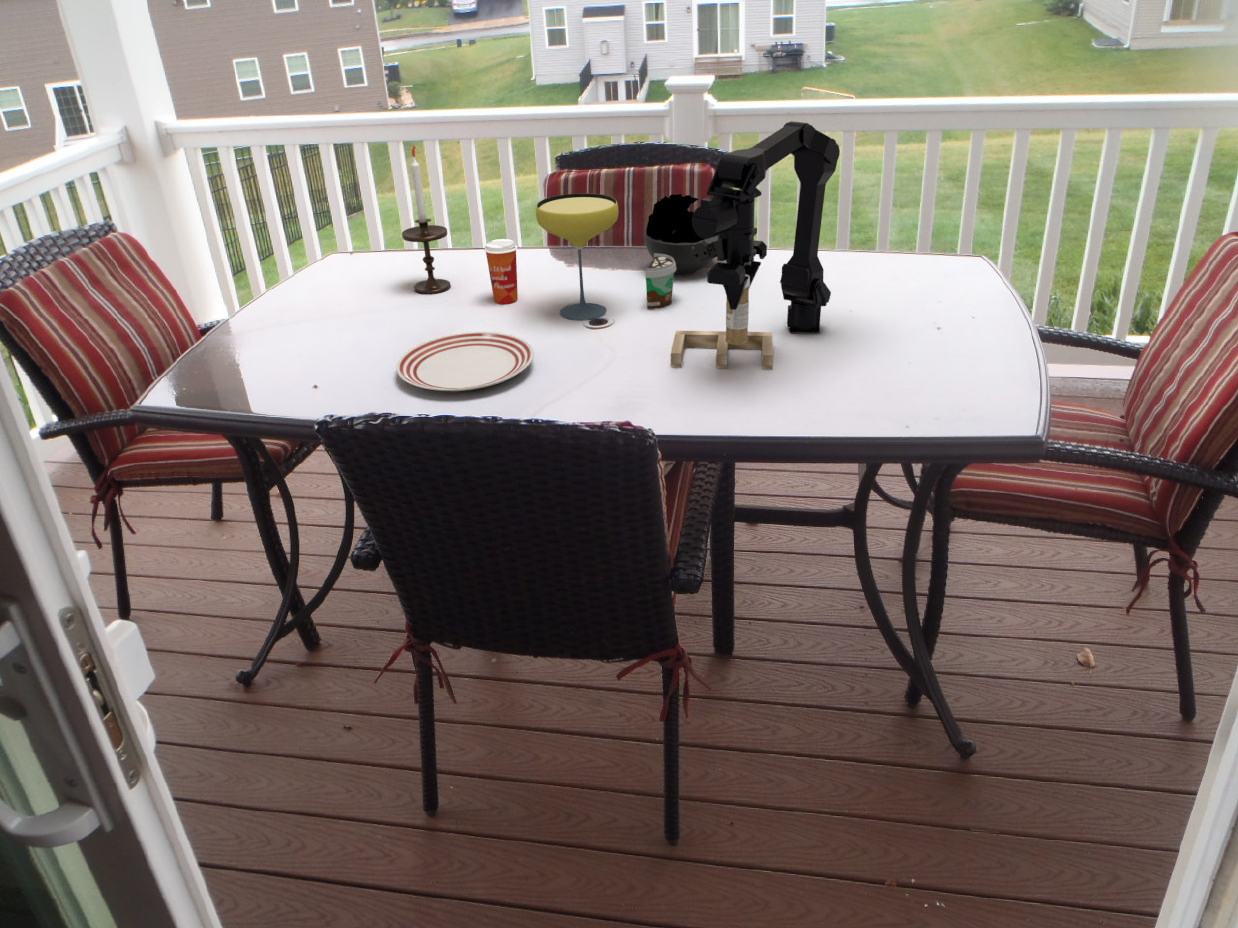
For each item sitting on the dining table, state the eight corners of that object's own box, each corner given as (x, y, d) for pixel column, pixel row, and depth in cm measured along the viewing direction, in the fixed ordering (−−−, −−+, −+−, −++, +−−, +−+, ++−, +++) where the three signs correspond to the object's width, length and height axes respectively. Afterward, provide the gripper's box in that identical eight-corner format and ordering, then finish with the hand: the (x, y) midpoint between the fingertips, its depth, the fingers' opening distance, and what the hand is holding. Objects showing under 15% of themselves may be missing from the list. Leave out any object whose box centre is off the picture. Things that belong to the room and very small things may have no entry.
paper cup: (484, 304, 221) (477, 246, 214) (499, 293, 227) (493, 237, 220) (513, 307, 218) (507, 249, 211) (528, 296, 224) (522, 239, 217)
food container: (672, 312, 212) (672, 269, 207) (646, 311, 213) (645, 269, 208) (680, 294, 222) (680, 253, 217) (655, 293, 223) (654, 252, 218)
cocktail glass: (548, 299, 222) (539, 194, 210) (623, 297, 221) (619, 191, 209) (540, 327, 206) (530, 215, 194) (621, 325, 206) (616, 213, 193)
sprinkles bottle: (723, 337, 184) (723, 272, 178) (746, 336, 185) (747, 271, 178) (727, 346, 181) (727, 280, 174) (750, 345, 181) (752, 279, 174)
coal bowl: (682, 254, 249) (682, 183, 239) (739, 270, 236) (741, 195, 226) (628, 272, 237) (626, 198, 228) (684, 289, 224) (684, 212, 215)
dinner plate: (476, 413, 171) (474, 397, 169) (369, 384, 184) (366, 368, 182) (561, 360, 191) (560, 345, 189) (459, 337, 204) (458, 323, 202)
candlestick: (461, 289, 231) (443, 143, 213) (421, 298, 226) (399, 150, 208) (443, 278, 239) (424, 137, 221) (403, 287, 234) (381, 143, 216)
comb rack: (771, 345, 192) (772, 332, 191) (772, 369, 182) (772, 355, 181) (675, 343, 195) (675, 330, 194) (670, 367, 185) (670, 353, 183)
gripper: (713, 208, 181) (713, 284, 189) (679, 236, 166) (681, 318, 174) (768, 212, 177) (766, 290, 185) (739, 241, 162) (738, 324, 170)
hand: (737, 305), depth 179 cm, fingers closed on sprinkles bottle, 4 cm apart
